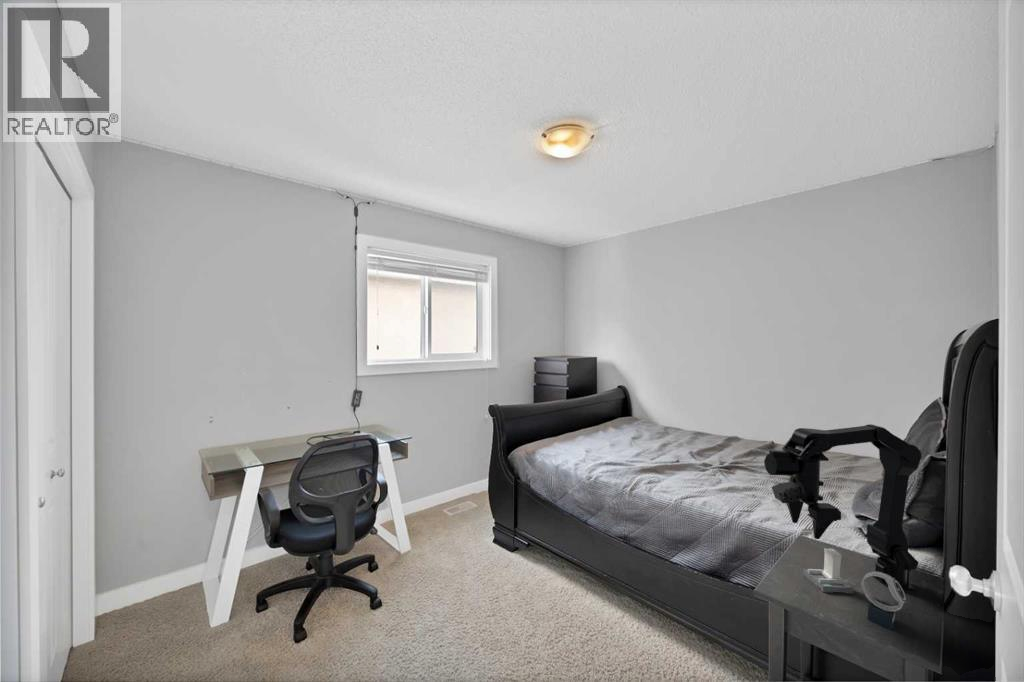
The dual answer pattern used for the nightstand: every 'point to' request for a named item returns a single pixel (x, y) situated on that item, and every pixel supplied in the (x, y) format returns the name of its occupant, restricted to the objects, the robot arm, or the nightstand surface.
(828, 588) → the breaker panel
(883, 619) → the watch
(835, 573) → the handle
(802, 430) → the robot arm
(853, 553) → the nightstand surface
